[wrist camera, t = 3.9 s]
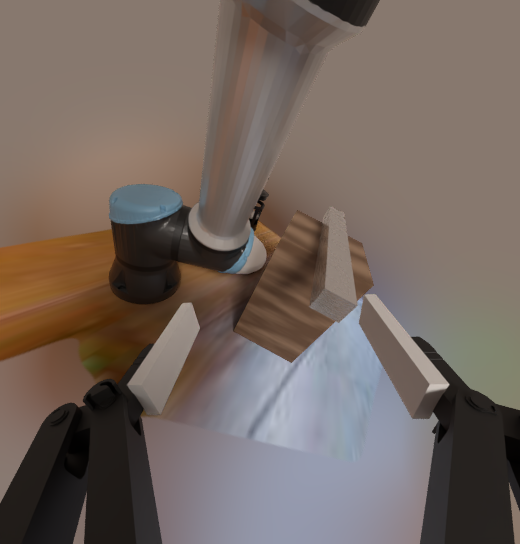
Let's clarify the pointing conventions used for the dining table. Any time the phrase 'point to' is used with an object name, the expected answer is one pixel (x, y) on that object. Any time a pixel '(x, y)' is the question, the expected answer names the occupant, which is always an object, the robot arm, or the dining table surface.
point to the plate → (254, 258)
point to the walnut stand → (294, 292)
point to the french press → (258, 210)
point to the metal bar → (333, 270)
